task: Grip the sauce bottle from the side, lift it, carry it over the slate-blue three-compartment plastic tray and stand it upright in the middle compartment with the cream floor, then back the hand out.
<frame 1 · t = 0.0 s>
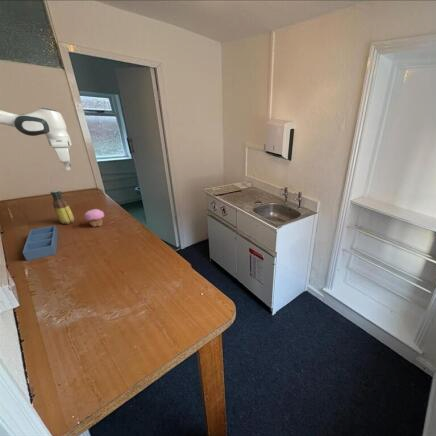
hand: (68, 168, 128), 32 cm above the table, tool pointing down, fingers open, 8 cm apart
tray: (44, 245, 114), on the table
sauce bottle: (68, 223, 138), on the table
cupcake: (97, 225, 136), on the table
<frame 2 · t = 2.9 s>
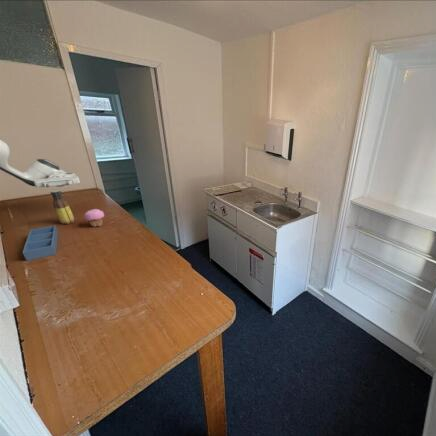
hand: (57, 184, 139), 20 cm above the table, tool horizontal, fingers open, 8 cm apart
nothing on the table moved.
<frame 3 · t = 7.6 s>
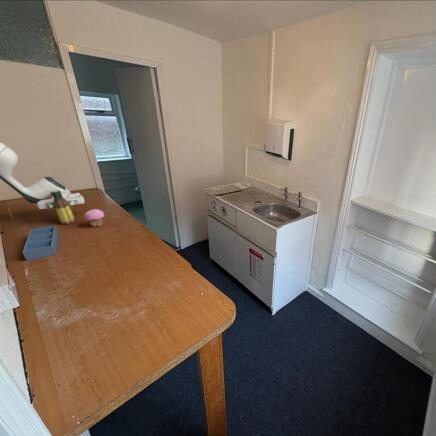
hand: (61, 205, 133), 11 cm above the table, tool horizontal, fingers closed on sauce bottle, 6 cm apart
sauce bottle: (68, 223, 138), on the table, touching gripper
everything else where it was.
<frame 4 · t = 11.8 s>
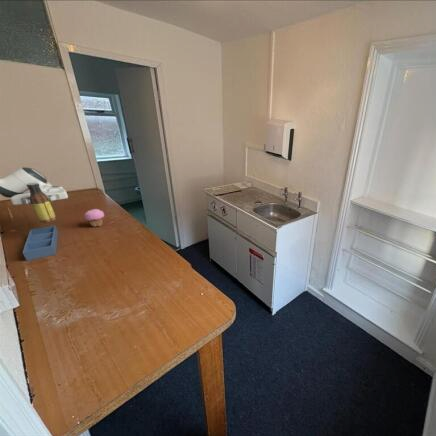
hand: (39, 201, 115), 20 cm above the table, tool horizontal, fingers closed on sauce bottle, 6 cm apart
sauce bottle: (48, 221, 120), point 9 cm above the table, touching gripper
everything else where it was.
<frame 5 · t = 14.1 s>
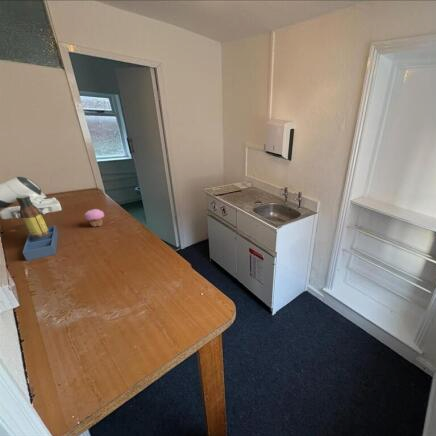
hand: (30, 214, 107), 17 cm above the table, tool horizontal, fingers closed on sauce bottle, 6 cm apart
sauce bottle: (40, 235, 112), point 5 cm above the table, touching gripper
everything else where it was.
when the fingers open (12 cm above the table, at t = 16.0 s): sauce bottle stays where it is, resting on tray.
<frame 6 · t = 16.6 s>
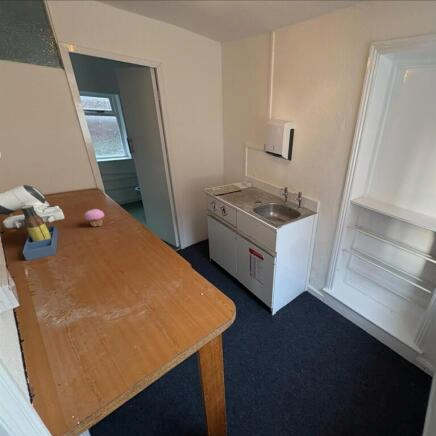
hand: (34, 223, 108), 12 cm above the table, tool horizontal, fingers open, 8 cm apart
sauce bottle: (44, 244, 114), point 1 cm above the table, touching tray
everything else where it was.
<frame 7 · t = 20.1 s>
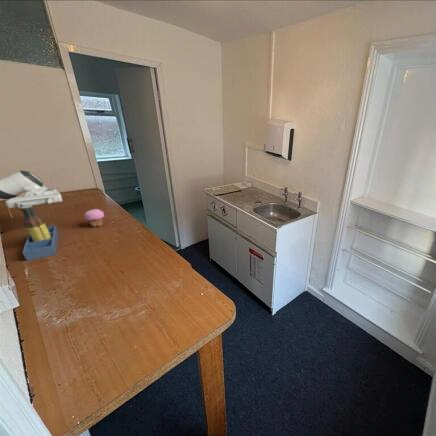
hand: (34, 204, 117), 17 cm above the table, tool horizontal, fingers open, 8 cm apart
nothing on the table moved.
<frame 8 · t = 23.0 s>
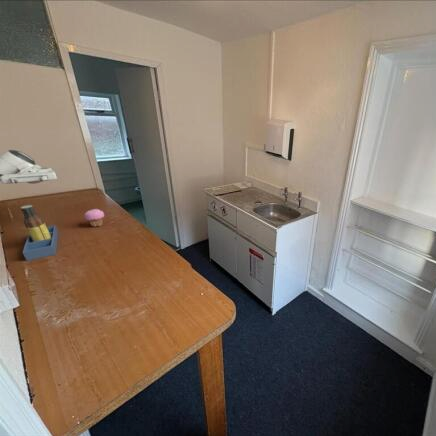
hand: (28, 180, 118), 28 cm above the table, tool horizontal, fingers open, 8 cm apart
nothing on the table moved.
at the end: sauce bottle 0.1 cm off-centre in the tray, point 0.5 cm above the tray's base; sauce bottle tilted 0°; the gripper is holding nothing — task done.
